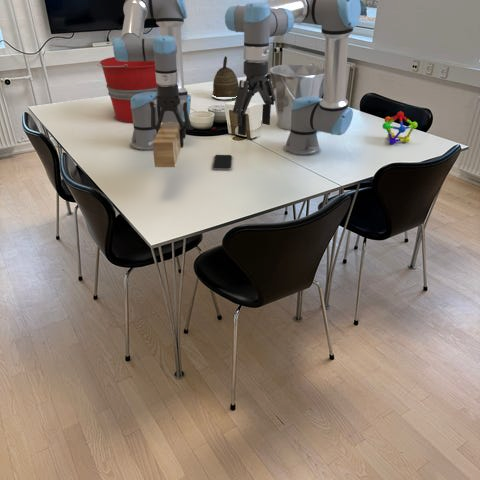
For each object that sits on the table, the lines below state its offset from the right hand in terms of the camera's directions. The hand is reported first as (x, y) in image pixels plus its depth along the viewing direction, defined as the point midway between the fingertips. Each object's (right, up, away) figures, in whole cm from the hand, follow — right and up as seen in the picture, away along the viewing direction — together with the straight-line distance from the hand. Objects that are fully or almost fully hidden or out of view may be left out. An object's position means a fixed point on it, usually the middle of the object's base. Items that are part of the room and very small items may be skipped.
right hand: (254, 129), depth 145 cm
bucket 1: (-61, +33, +101) cm, 123 cm away
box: (-31, -5, +17) cm, 35 cm away
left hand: (-31, -1, +23) cm, 38 cm away
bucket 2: (+25, +24, +88) cm, 95 cm away
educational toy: (+69, +10, +65) cm, 96 cm away
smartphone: (-12, -4, +43) cm, 45 cm away
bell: (-13, +54, +136) cm, 147 cm away
